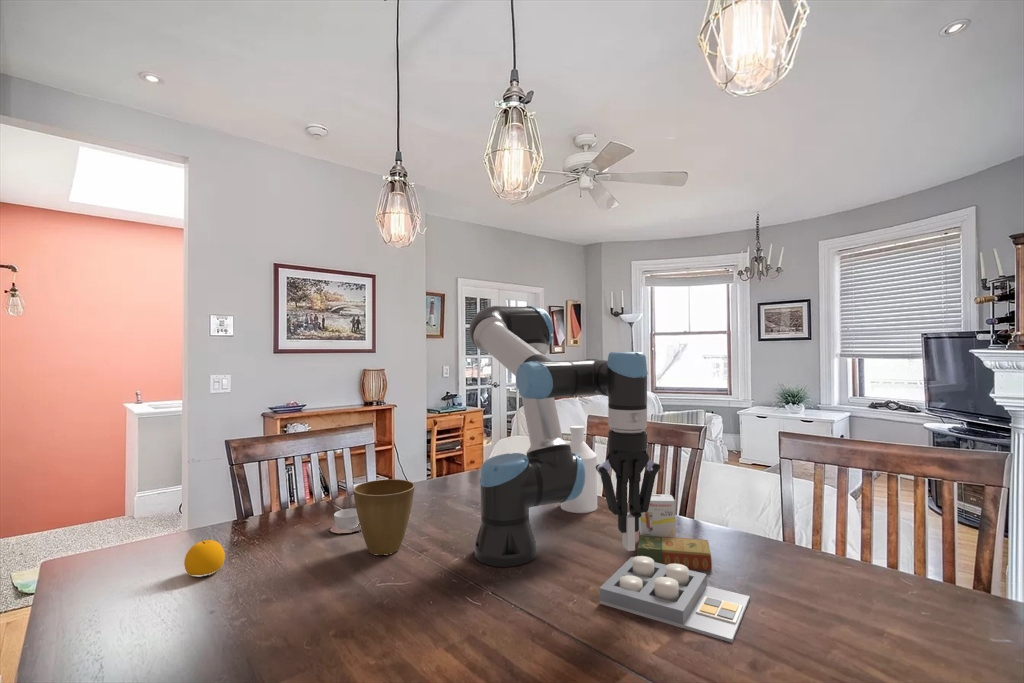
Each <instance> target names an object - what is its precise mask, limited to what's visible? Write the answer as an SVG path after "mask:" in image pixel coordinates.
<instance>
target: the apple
mask: <svg viewBox="0 0 1024 683" xmlns="http://www.w3.org/2000/svg"><path fill="white" fill-rule="evenodd" d="M185 554H186V555H185V557H184V569H185V571H186V573H187V574H188V575H189V574H190V575H204V574H209V573H212V572H214V571H216V570H218V569H219V570H221V568H222V567H223V566H224V562H225V559H226V553H225V549H224V547H223V545H221V544H220V543H219V542H218V541H217V540H213V539H206V540H202V541H198V542H196V543H195V544H194V545H192V546H191V547H190V548H189V549H188V551H187V552H186V553H185ZM219 570H218V571H219ZM190 575H189V576H190Z"/></svg>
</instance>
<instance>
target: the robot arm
mask: <svg viewBox="0 0 1024 683" xmlns="http://www.w3.org/2000/svg"><path fill="white" fill-rule="evenodd" d="M469 323H470V324H469V326H468V327H469V328H468V336H469V338H470V341H471V342H472V345H474V346H475V347H476V348H477V349H478V350H479V351H481V352H483V353H486V354H490V355H491V356H492V357H493V358H494V359H495V360H496V361H498V362H499V363H500V364H501V365H502V366H503V367H505V368H506V369H507V370H508V371H509V372H510V373H511V374H513V375H514V376H515V384H516V385H515V386H516V389H517V390H518V394H519V395H520V396H521V402H522V406H523V411H524V417H525V422H526V429H527V433H528V439H529V443H530V446H529V447H528V450H527V451H526V453H521V452H513V453H502V454H499V455H495V456H492V457H489V458H487V459H486V460H485V461H484V462H483V463H482V464H481V467H480V478H479V485H480V514H481V515H480V516H481V520H480V526H479V528H478V532H477V536H476V541H475V543H474V557H475V559H476V560H477V561H478V562H480V563H482V564H484V565H488V566H492V567H499V568H501V567H504V568H507V567H517V566H521V565H525V564H528V563H530V562H531V561H533V560H534V559H535V558H536V557H537V556H538V548H537V547H538V545H537V540H536V539H535V534H534V531H533V529H532V526H531V523H530V508H533V507H539V506H546V505H552V504H558V503H559V504H561V503H563V502H566V501H569V500H573V499H575V498H577V497H578V496H579V495H580V494H581V492H582V490H583V487H584V484H585V467H584V463H583V461H582V459H580V456H579V455H578V454H576V453H573V452H571V447H570V444H569V443H568V442H567V441H566V440H564V438H563V434H562V429H561V424H560V419H559V416H558V409H557V405H556V400H555V398H564V397H582V396H602V397H603V396H604V397H608V398H607V400H608V402H607V404H608V405H607V408H608V409H607V412H608V413H607V414H608V419H607V420H608V422H607V426H608V427H609V428H610V429H609V430H608V454H607V455H606V460H605V461H604V462H603V463H601V464H600V463H599V464H598V463H597V465H596V470H597V474H599V475H600V479H601V484H602V487H603V491H604V496H605V499H606V504H607V508H608V510H609V511H610V512H611V513H612V514H613V515H614V516H617V528H618V531H619V532H620V533H621V536H622V537H621V538H622V539H621V540H622V542H621V544H622V546H623V548H625V550H626V551H628V552H632V551H635V550H636V533H639V518H640V517H641V515H642V514H641V513H643V512H647V511H648V509H649V504H650V500H651V495H652V493H653V489H654V485H655V480H656V476H657V474H658V473H659V471H660V468H661V465H660V464H659V463H657V462H655V461H653V460H651V459H650V456H649V454H648V451H647V450H648V432H647V430H645V429H647V428H648V373H649V372H648V369H647V368H648V366H647V365H648V364H647V357H646V354H645V353H644V352H642V351H610V352H609V353H608V355H607V360H606V359H604V360H603V359H597V358H586V359H579V360H578V359H577V360H552V359H550V358H548V356H546V354H547V353H548V351H549V349H550V347H549V346H550V345H551V344H552V342H553V338H554V334H553V333H554V331H555V330H554V329H555V328H554V324H553V321H552V318H551V316H550V314H549V313H548V312H547V311H546V310H545V309H544V308H541V307H539V306H538V307H537V306H531V305H527V306H526V305H525V306H509V305H508V306H506V305H505V306H504V305H503V306H500V305H493V306H488V307H484V308H483V309H481V310H479V311H478V312H477V313H476V314H475V315H474V316H473V318H472V319H471V321H470V322H469ZM611 469H612V471H613V472H614V473H615V479H616V494H615V489H614V486H613V482H612V477H611V475H610V473H611ZM644 469H645V470H644ZM643 470H644V473H643V478H641V476H642V475H641V474H642V472H643ZM641 479H642V481H641ZM641 482H642V483H641ZM628 511H629V512H628Z"/></svg>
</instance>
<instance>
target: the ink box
mask: <svg viewBox="0 0 1024 683" xmlns="http://www.w3.org/2000/svg"><path fill="white" fill-rule="evenodd" d="M641 514H642V515H641V517H640V518H639V530H638V536H639V535H646V536H660V537H673V538H677V526H676V525H677V523H676V522H677V520H676V516H677V514H676V500H675V498H674V496H673V495H672V494H663V493H662V494H661V493H660V494H656V493H653V494H652V495H651V500H650V504H649V509H648V511H647V512H643V513H641Z"/></svg>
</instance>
